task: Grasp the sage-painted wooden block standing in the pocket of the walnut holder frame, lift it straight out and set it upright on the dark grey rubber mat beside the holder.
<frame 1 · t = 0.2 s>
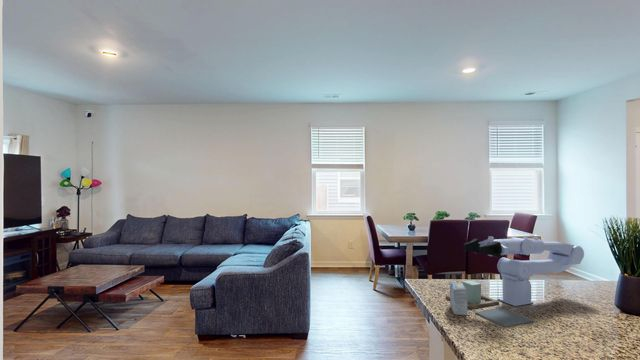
hand: (471, 248, 122), 21 cm above the countertop, tool horizontal, fingers open, 7 cm apart
rubber mat: (503, 317, 114), on the countertop
medicine box: (458, 311, 120), on the countertop
sage block: (471, 291, 129), in the holder frame
holder frame: (471, 301, 129), on the countertop
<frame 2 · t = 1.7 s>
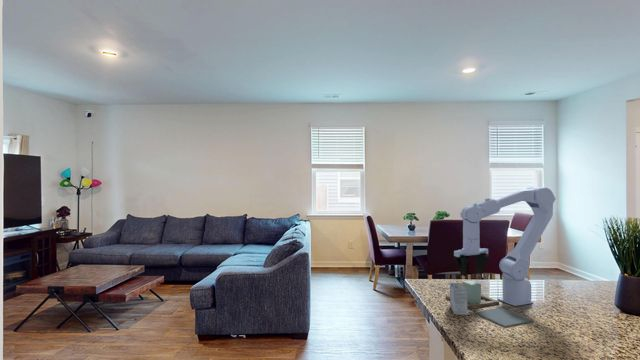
hand: (471, 274, 129), 10 cm above the countertop, tool pointing down, fingers open, 7 cm apart
nothing on the countertop moved.
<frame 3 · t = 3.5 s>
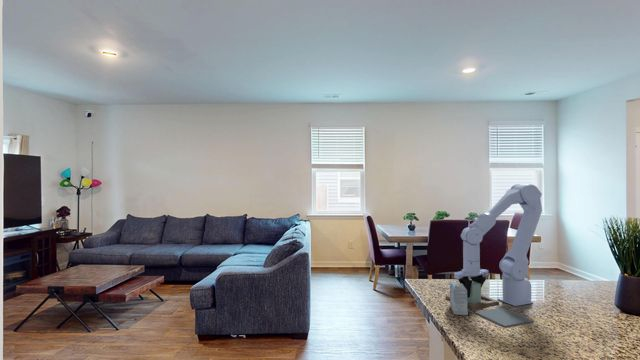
hand: (471, 296, 129), 2 cm above the countertop, tool pointing down, fingers closed on sage block, 4 cm apart
sage block: (471, 291, 129), in the holder frame, touching gripper
everything else where it was.
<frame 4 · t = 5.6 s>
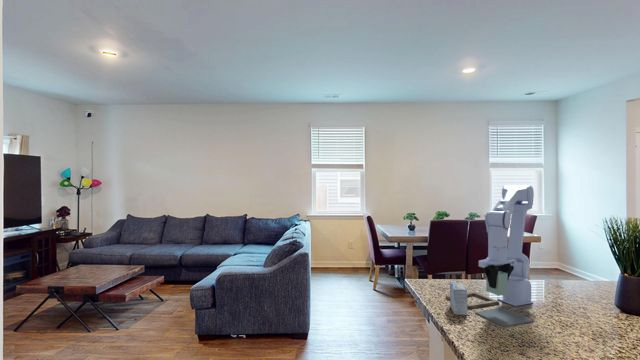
hand: (497, 286, 116), 9 cm above the countertop, tool pointing down, fingers closed on sage block, 4 cm apart
sage block: (496, 282, 116), point 11 cm above the countertop, touching gripper
everything else where it was.
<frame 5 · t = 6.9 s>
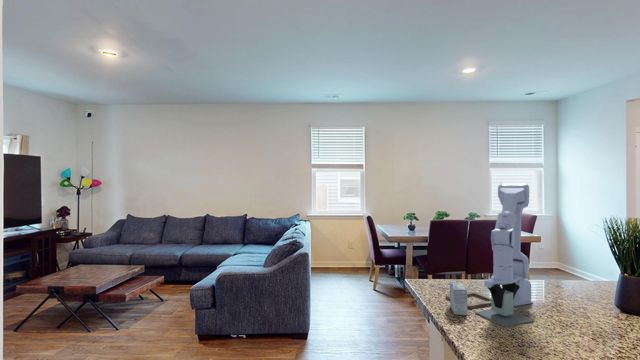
hand: (503, 306, 114), 4 cm above the countertop, tool pointing down, fingers closed on sage block, 4 cm apart
sage block: (502, 301, 114), point 5 cm above the countertop, touching gripper
everything else where it was.
when the fingers open (3 cm above the countertop, at t = 7.8 s): sage block stays where it is, resting on rubber mat.
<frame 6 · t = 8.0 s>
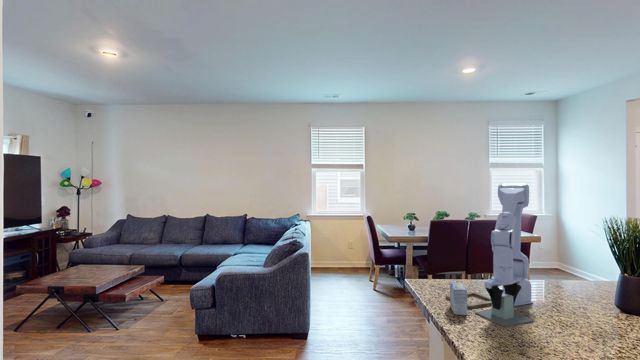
hand: (503, 307, 114), 3 cm above the countertop, tool pointing down, fingers open, 6 cm apart
sage block: (502, 305, 114), on the rubber mat
everything else where it was.
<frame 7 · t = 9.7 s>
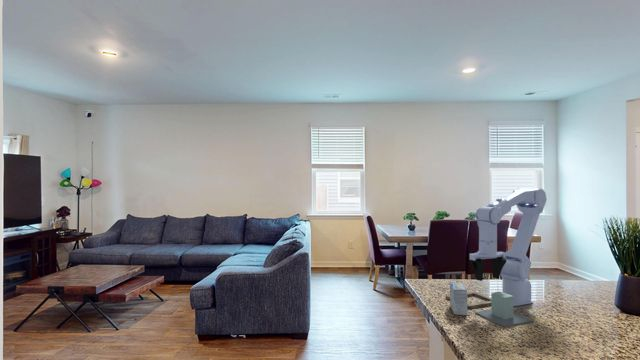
hand: (487, 279, 122), 10 cm above the countertop, tool pointing down, fingers open, 7 cm apart
nothing on the countertop moved.
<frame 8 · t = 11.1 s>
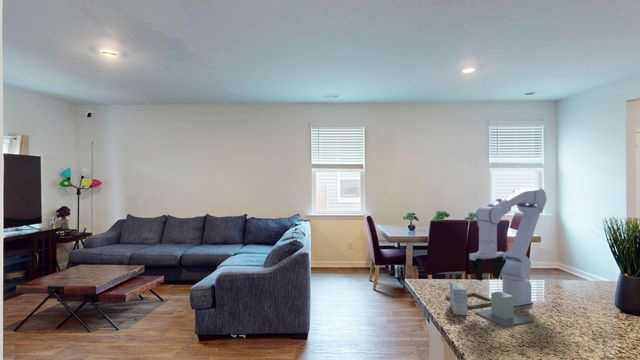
hand: (487, 279, 122), 10 cm above the countertop, tool pointing down, fingers open, 7 cm apart
nothing on the countertop moved.
at the end: sage block inside the target area on the rubber mat (0.4 cm from its centre), point 4.0 cm above the rubber mat's base; sage block tilted 0°; the gripper is holding nothing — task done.
